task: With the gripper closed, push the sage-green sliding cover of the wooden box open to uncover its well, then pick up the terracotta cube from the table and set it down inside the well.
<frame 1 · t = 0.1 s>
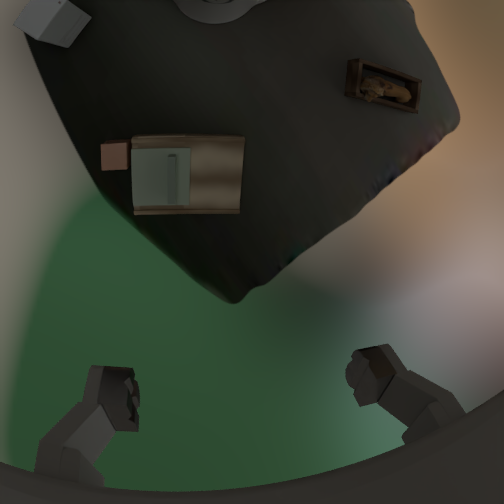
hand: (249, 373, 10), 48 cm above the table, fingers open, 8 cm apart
supplement box: (67, 26, 34), on the table
cover: (159, 178, 47), point 5 cm above the table, slide at 0.0 cm
wooden box: (187, 171, 53), on the table
lion figurine: (374, 90, 51), resting in lion stand
lion stand: (378, 86, 50), on the table
cube: (120, 151, 48), on the table
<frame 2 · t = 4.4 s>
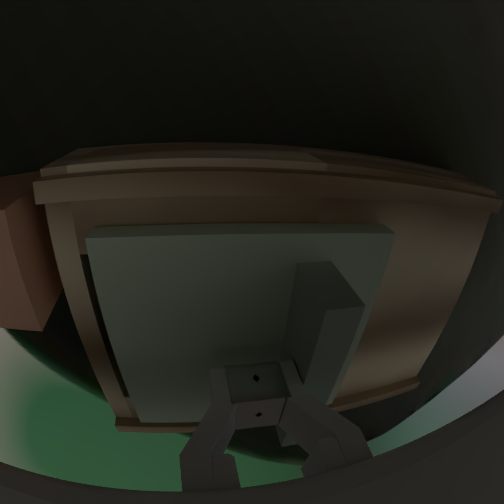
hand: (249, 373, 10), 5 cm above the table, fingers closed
cover: (249, 370, 10), point 5 cm above the table, slide at 1.7 cm, touching gripper
wooden box: (285, 286, 15), on the table
cube: (31, 219, 11), on the table
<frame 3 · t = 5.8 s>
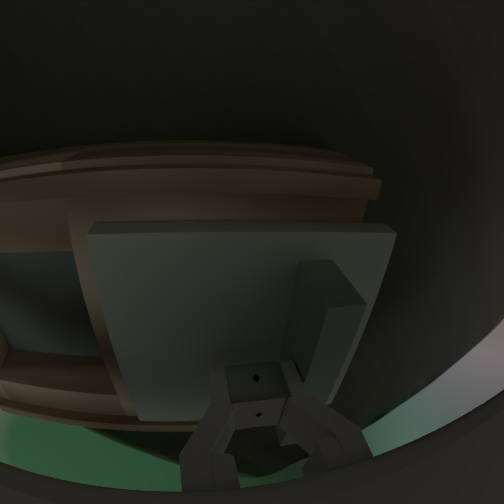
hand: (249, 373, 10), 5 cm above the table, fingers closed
cover: (249, 368, 10), point 5 cm above the table, slide at 10.0 cm, touching gripper
wooden box: (120, 289, 14), on the table
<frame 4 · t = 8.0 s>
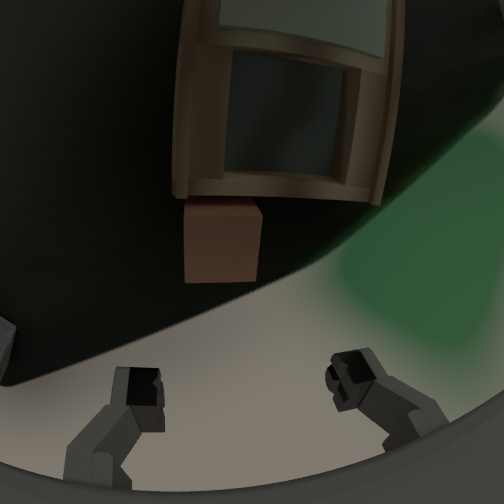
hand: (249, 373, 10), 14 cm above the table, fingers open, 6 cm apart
wooden box: (285, 54, 17), on the table
cube: (215, 219, 22), on the table
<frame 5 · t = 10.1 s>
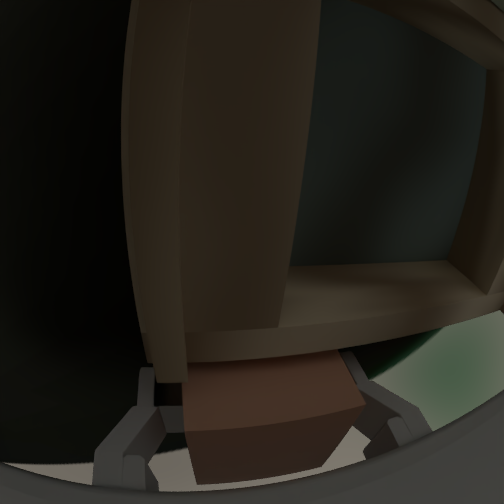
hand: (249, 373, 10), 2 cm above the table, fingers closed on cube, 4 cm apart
wooden box: (395, 16, 6), on the table
cube: (241, 342, 11), on the table, touching gripper
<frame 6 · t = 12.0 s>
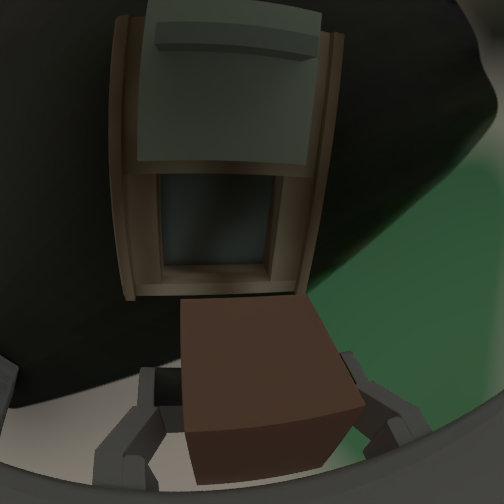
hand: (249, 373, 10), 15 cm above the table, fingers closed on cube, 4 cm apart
cover: (231, 74, 14), point 5 cm above the table, slide at 10.0 cm
wooden box: (217, 155, 21), on the table
cube: (241, 342, 11), point 13 cm above the table, touching gripper
when the fingers open (4 cm above the table, at t = 14.1 s): cube drops 2 cm, resting on wooden box.
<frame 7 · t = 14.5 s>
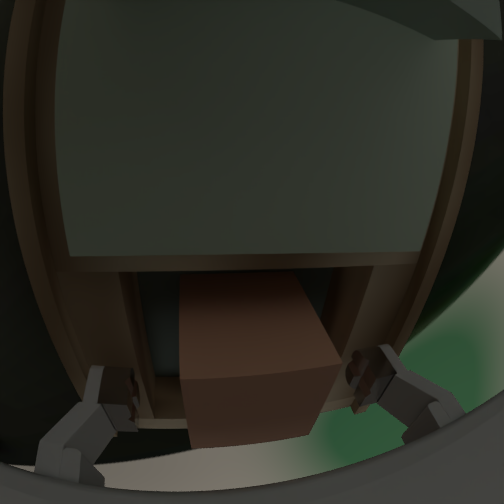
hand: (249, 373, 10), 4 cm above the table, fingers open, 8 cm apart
cover: (304, 36, 4), point 5 cm above the table, slide at 10.0 cm
wooden box: (240, 209, 11), on the table
cube: (235, 317, 13), point 1 cm above the table, touching wooden box
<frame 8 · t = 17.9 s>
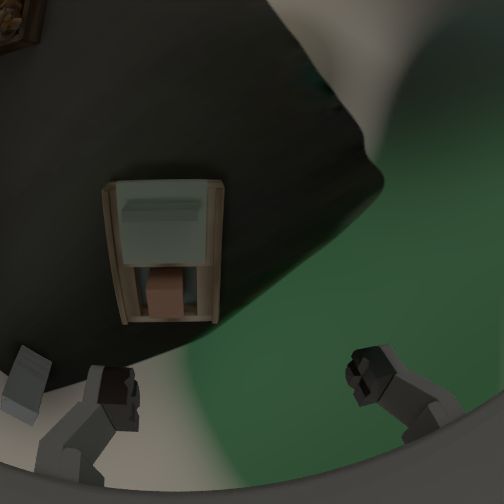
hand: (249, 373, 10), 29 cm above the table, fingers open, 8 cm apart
supplement box: (34, 361, 45), on the table
cover: (161, 227, 32), point 5 cm above the table, slide at 10.0 cm
wooden box: (166, 249, 39), on the table
lion figurine: (32, 2, 18), resting in lion stand
cube: (167, 281, 40), point 1 cm above the table, touching wooden box
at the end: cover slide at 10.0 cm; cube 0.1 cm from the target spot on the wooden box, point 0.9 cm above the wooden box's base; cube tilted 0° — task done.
